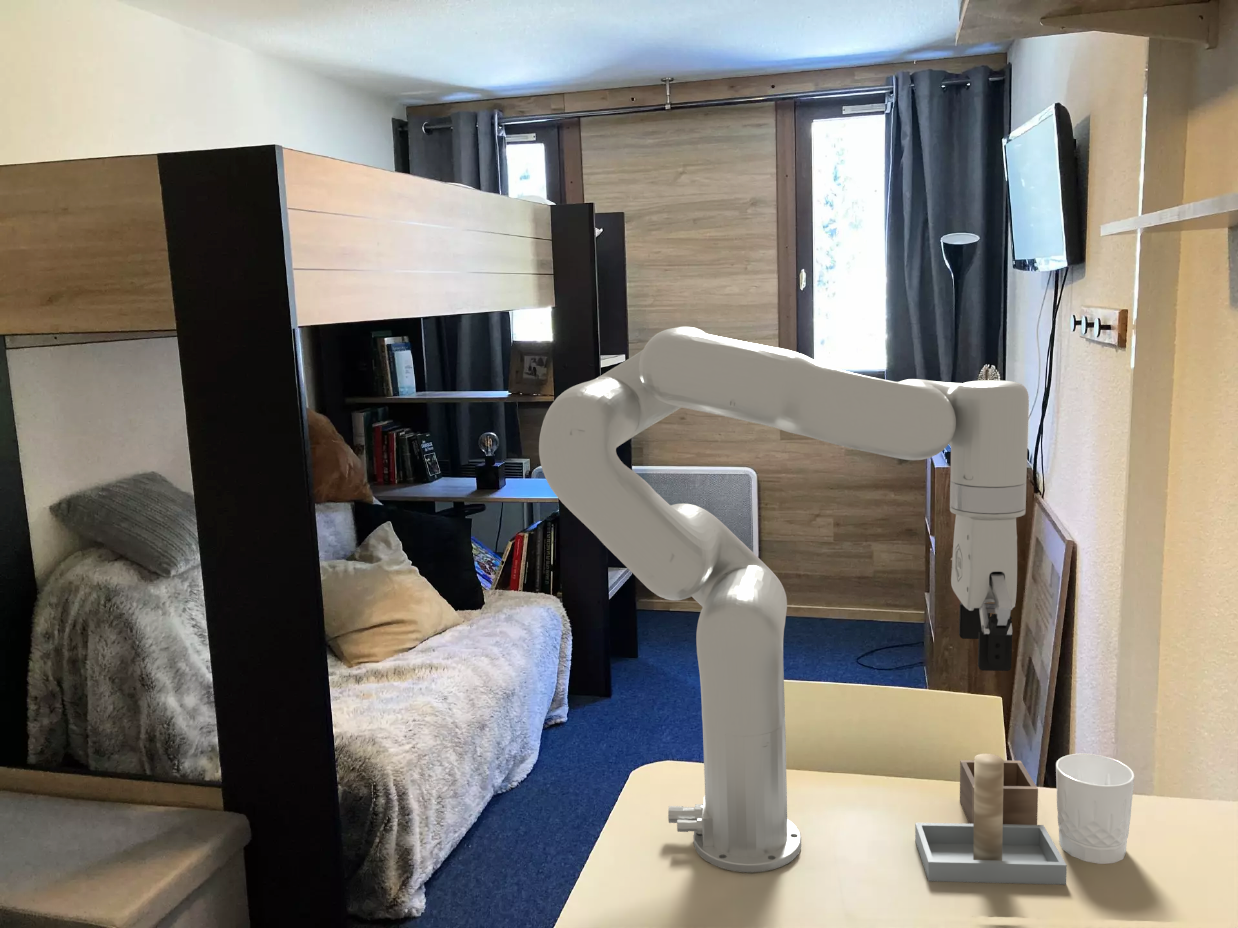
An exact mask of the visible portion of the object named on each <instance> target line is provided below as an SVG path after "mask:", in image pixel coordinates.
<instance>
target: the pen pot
mask: <svg viewBox="0 0 1238 928" xmlns="http://www.w3.org/2000/svg"><path fill="white" fill-rule="evenodd" d="M1003 760H1004V777H1003V824H1017V825H1038V810H1039V809H1038V808H1039V807H1038V806H1039V803H1038V801H1039V799H1038V798H1039V789H1038V787H1037V785H1036V783H1035V781H1034V780H1033V779H1032V777H1031V775H1030V773H1029V772H1028V770H1027V769H1026V766H1025V765H1024V764H1023V762H1022V761H1021V760H1005V759H1003ZM959 803H960V805H961V808H962V809H963V812H964V814H965V816H966V818H967V821H968V824H974V759H959Z"/></svg>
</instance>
